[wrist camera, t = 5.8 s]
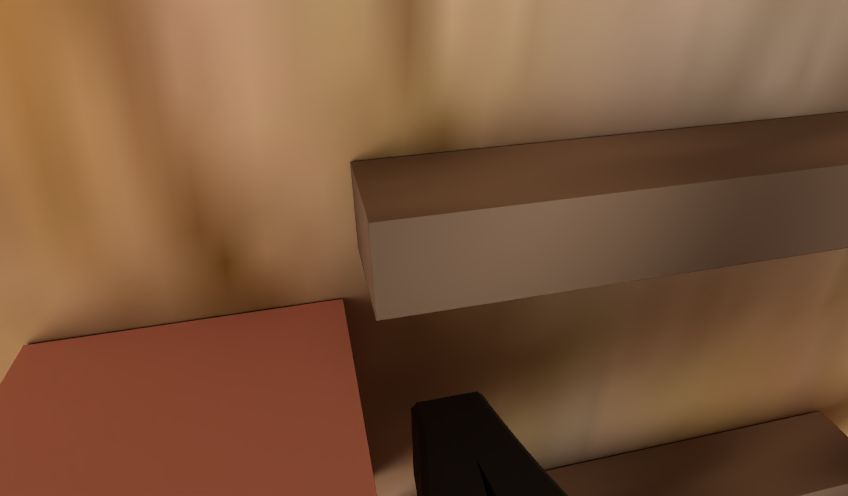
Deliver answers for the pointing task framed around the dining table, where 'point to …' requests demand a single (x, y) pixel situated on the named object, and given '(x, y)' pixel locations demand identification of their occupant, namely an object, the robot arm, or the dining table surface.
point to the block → (190, 410)
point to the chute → (620, 258)
